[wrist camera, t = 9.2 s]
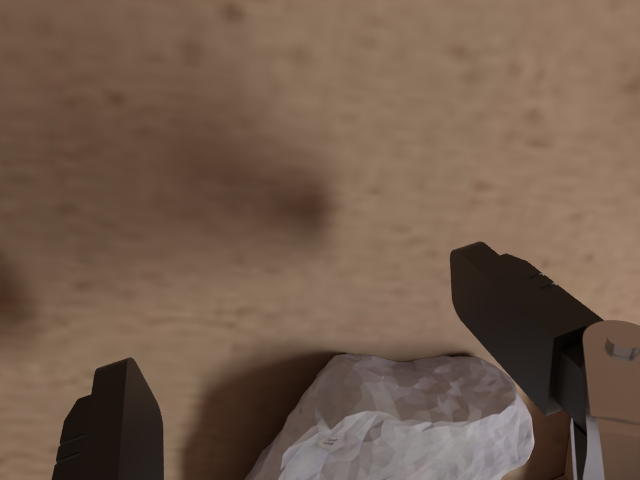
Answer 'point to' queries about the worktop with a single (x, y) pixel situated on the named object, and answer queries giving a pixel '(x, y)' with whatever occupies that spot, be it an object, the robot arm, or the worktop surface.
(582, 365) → the robot arm
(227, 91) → the worktop surface
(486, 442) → the stone block
